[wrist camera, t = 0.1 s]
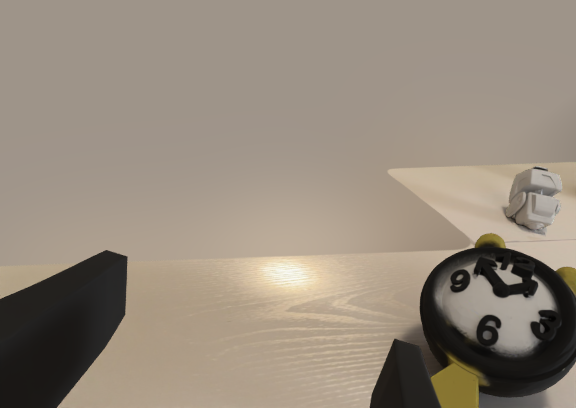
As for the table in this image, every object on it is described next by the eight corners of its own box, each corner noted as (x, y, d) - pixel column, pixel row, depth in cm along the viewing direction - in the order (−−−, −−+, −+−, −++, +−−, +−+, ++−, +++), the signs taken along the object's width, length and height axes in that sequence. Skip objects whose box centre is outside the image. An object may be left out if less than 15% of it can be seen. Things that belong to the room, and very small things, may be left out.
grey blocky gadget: (539, 238, 79) (545, 179, 81) (564, 229, 72) (569, 166, 75) (503, 229, 79) (509, 171, 81) (524, 220, 72) (530, 157, 75)
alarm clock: (367, 379, 45) (394, 217, 46) (509, 394, 48) (535, 241, 48) (425, 442, 34) (461, 225, 34) (608, 458, 36) (641, 256, 37)
